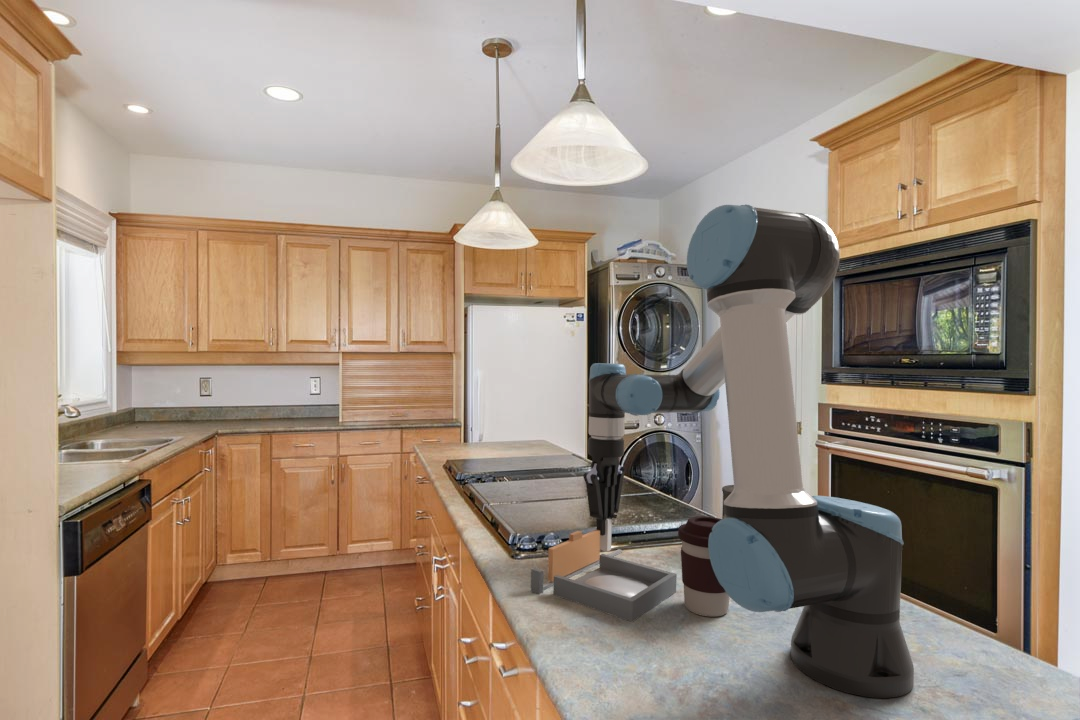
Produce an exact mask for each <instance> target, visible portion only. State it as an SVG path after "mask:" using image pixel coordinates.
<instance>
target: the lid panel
mask: <svg viewBox="0 0 1080 720" xmlns="http://www.w3.org/2000/svg"><path fill="white" fill-rule="evenodd" d="M568 535H569V536H568V537H569V538H568V540H567V541H564V542H561V543H559V544H556V545H554V546H551V547H549V548H548V564H547V566H548V567H547V581H548V582H550V581H551V582H553V581H554V576H555V575H560V576H563V577H564V576H566V575H568V574H570V573H572V572H574V571H576V570H578V569H581V568H583V567H585V566H587V565H589V564H591V563H593V562H595V561H597V560H599V559H600V555H601V550H600V530H597V529H594V530H592V531H589V532H587V533H584V534H583V531H582V530H581V531H580V530H576V531H574V532H572V533H569V534H568Z"/></svg>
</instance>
